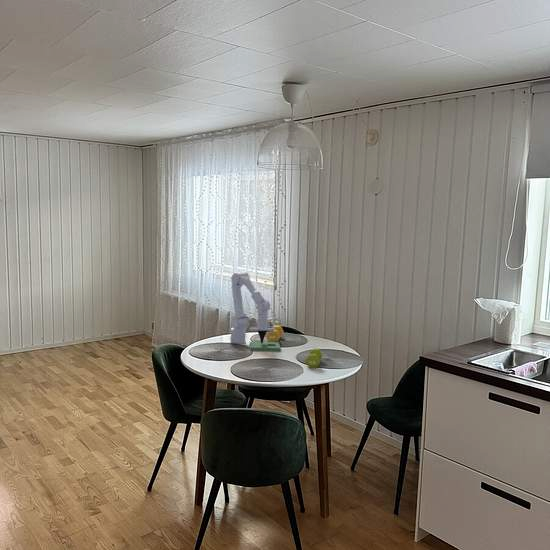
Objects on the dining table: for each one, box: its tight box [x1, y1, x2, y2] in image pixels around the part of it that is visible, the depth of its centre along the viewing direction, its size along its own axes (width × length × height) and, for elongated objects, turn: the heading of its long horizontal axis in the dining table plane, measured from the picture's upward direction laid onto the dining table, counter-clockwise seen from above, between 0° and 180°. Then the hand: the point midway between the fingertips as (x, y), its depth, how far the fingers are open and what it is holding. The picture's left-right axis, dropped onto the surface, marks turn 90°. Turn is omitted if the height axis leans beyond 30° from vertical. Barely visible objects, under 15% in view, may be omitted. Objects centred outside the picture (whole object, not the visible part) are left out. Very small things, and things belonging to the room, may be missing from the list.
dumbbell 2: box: [265, 325, 284, 342], centre depth 332 cm, size 19×9×8 cm, turn 170°
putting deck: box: [249, 341, 282, 352], centre depth 311 cm, size 18×14×2 cm
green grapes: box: [305, 348, 324, 369], centre depth 280 cm, size 16×8×7 cm, turn 168°
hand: (261, 343), depth 310 cm, fingers closed, pressing on ball
